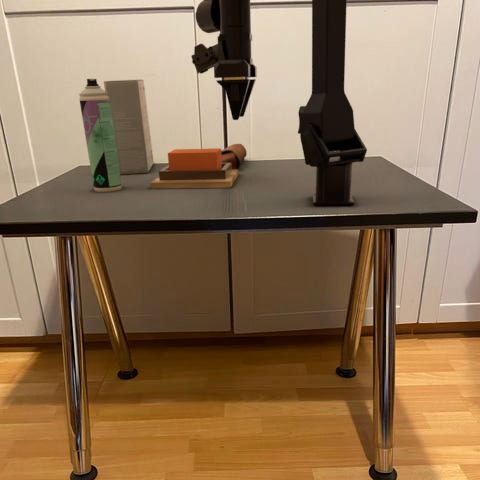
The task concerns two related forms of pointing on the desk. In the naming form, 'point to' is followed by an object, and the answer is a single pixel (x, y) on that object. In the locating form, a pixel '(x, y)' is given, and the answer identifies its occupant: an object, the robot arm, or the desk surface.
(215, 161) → the orange rectangular block
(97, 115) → the spray can
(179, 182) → the wooden tray
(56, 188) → the desk surface
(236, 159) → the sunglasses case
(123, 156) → the hard drive box
